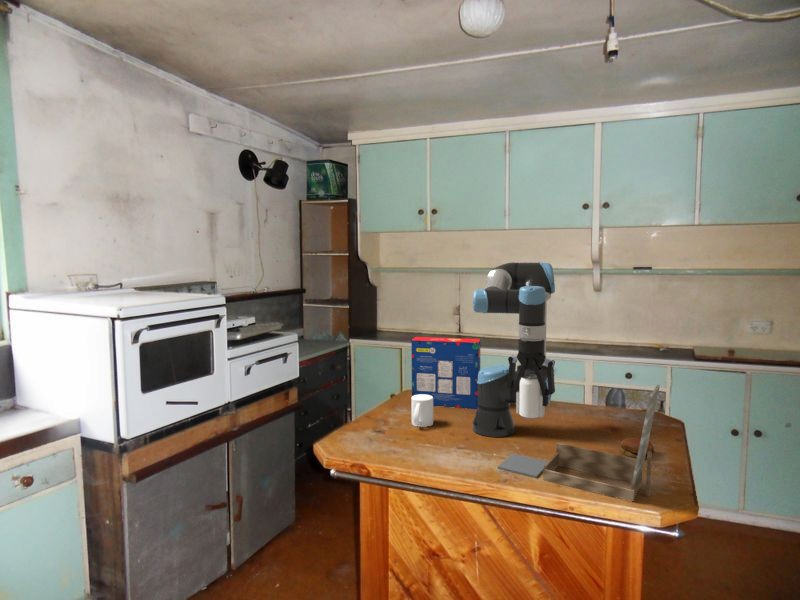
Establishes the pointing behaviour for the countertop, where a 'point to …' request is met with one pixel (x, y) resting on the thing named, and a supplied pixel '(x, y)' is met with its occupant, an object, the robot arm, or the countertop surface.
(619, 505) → the countertop surface
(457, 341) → the blue board game box
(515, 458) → the mat
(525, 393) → the can
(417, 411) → the mug
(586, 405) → the countertop surface
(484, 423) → the robot arm
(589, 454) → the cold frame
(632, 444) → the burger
